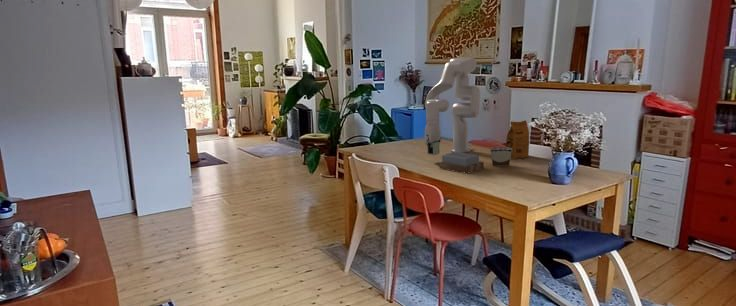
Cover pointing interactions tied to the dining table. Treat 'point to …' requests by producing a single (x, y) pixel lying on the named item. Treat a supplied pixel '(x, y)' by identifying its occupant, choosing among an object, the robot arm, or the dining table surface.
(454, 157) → the top block
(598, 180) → the dining table surface
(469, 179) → the dining table surface
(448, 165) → the base block
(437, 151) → the sage block
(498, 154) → the food container
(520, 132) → the coffee package
